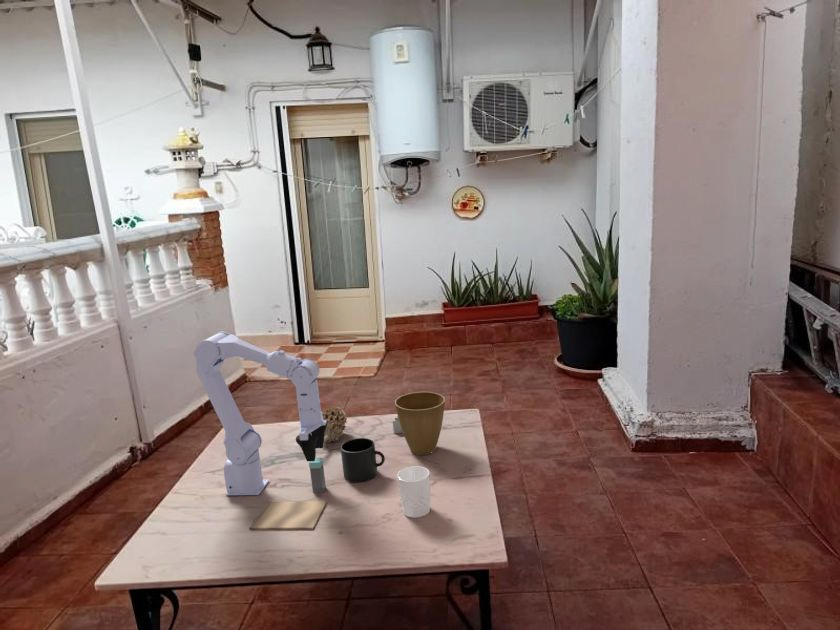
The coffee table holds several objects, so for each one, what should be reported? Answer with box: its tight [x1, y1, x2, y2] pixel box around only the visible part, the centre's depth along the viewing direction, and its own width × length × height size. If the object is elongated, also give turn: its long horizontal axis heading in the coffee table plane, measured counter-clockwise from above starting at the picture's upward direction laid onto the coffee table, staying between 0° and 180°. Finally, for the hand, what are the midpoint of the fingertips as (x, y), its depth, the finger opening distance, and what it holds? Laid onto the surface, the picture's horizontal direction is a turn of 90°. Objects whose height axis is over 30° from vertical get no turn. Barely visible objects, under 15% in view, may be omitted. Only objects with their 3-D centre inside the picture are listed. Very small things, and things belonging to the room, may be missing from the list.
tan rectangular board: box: [248, 500, 328, 531], centre depth 149 cm, size 16×12×1 cm
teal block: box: [308, 457, 327, 493], centre depth 161 cm, size 3×3×9 cm
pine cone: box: [322, 406, 348, 444], centre depth 189 cm, size 22×10×10 cm, turn 173°
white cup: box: [396, 465, 431, 519], centre depth 146 cm, size 8×8×10 cm
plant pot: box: [394, 391, 446, 456], centre depth 179 cm, size 15×15×16 cm
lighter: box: [392, 415, 403, 435], centre depth 194 cm, size 7×2×8 cm, turn 93°
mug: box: [340, 437, 386, 483], centre depth 167 cm, size 9×12×9 cm
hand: (315, 454), depth 159 cm, fingers open, 7 cm apart
